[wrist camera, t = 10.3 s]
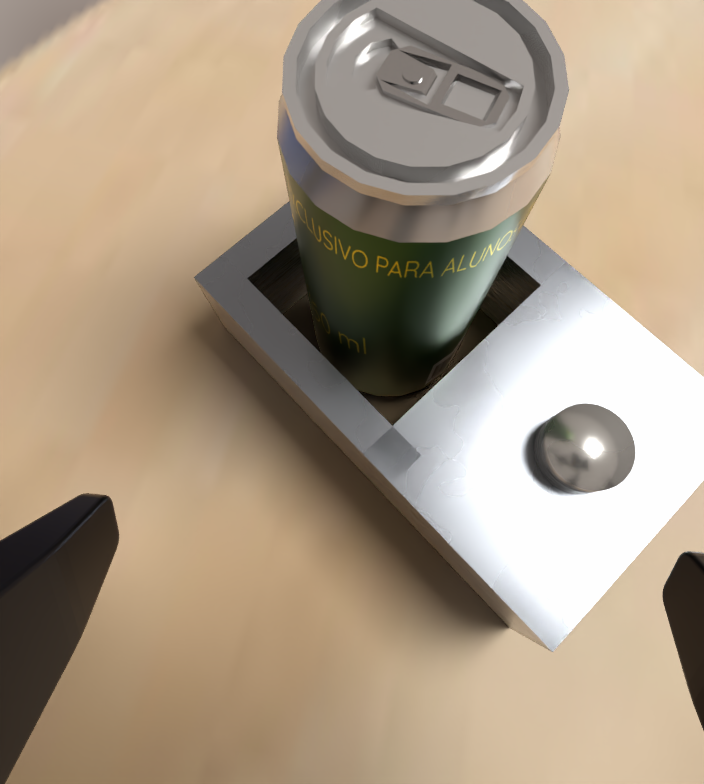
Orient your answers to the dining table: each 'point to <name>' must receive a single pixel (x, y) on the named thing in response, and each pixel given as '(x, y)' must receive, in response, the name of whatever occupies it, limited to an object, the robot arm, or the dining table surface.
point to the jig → (501, 427)
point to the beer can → (412, 170)
